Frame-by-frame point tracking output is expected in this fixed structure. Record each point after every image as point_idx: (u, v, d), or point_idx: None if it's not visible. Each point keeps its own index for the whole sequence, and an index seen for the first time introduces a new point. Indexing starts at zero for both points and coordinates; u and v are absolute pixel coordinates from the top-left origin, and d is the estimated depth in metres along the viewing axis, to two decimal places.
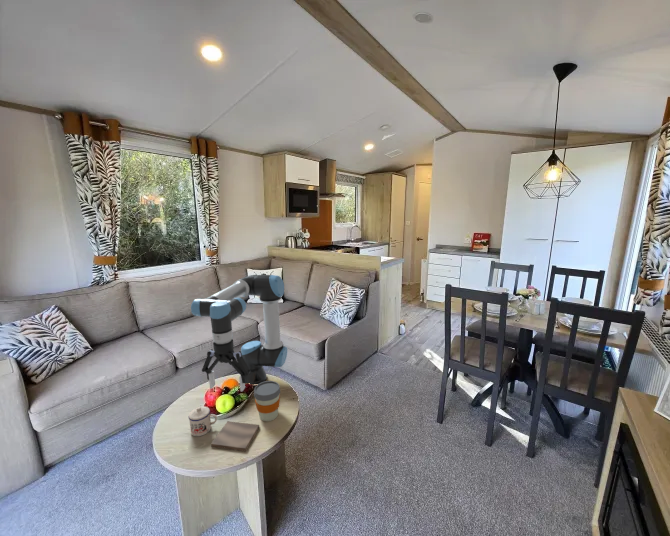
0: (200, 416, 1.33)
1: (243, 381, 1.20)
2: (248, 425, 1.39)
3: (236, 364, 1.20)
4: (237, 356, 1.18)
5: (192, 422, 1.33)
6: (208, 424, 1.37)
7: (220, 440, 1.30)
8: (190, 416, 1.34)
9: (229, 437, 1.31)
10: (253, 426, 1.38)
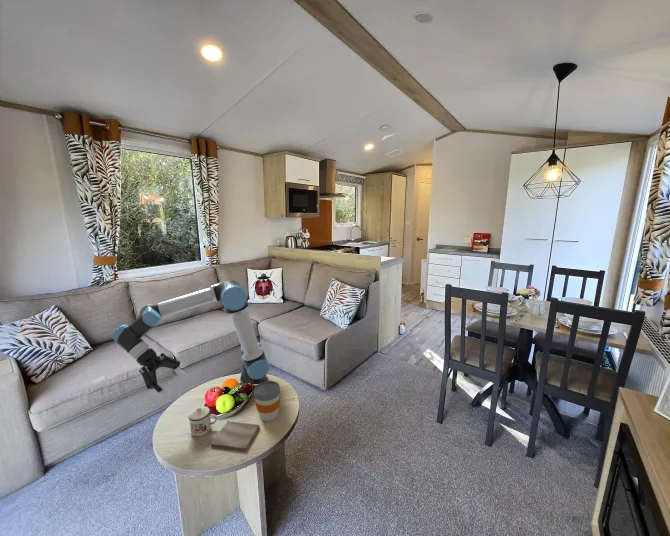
0: (200, 416, 1.33)
1: None
2: (248, 425, 1.39)
3: (151, 375, 1.30)
4: None
5: (192, 422, 1.33)
6: (208, 424, 1.37)
7: (220, 440, 1.30)
8: (190, 416, 1.34)
9: (229, 437, 1.31)
10: (253, 426, 1.38)
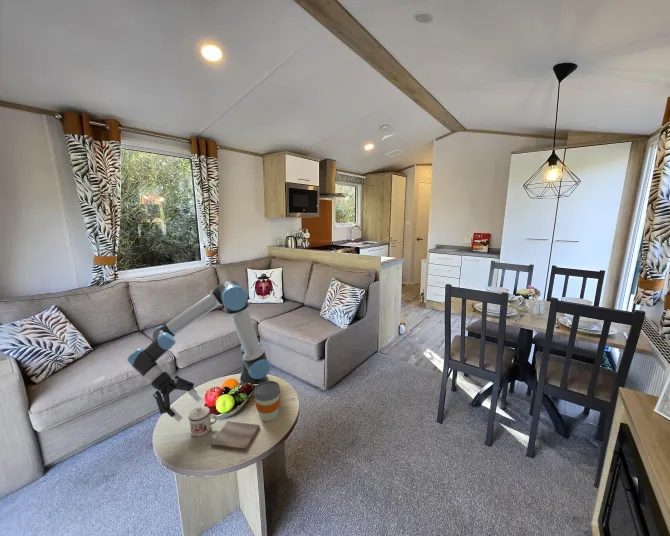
0: (200, 416, 1.33)
1: None
2: (248, 425, 1.39)
3: (164, 399, 1.32)
4: None
5: (192, 422, 1.33)
6: (208, 424, 1.37)
7: (220, 440, 1.30)
8: (190, 416, 1.34)
9: (229, 437, 1.31)
10: (253, 426, 1.38)
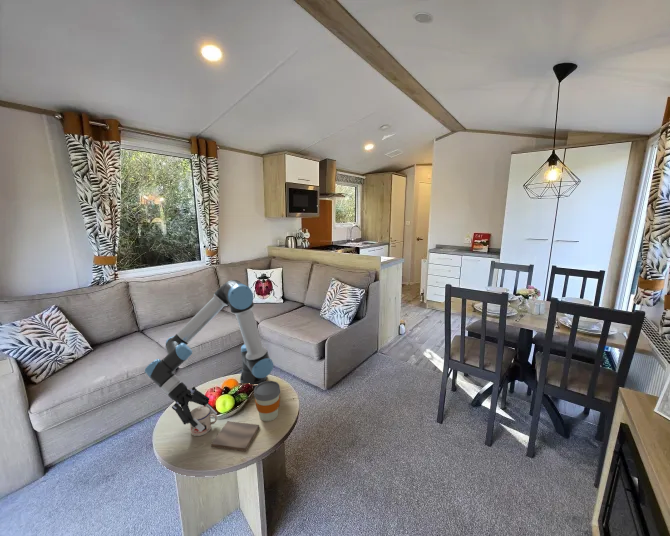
0: (201, 416, 1.34)
1: None
2: (248, 425, 1.39)
3: (184, 410, 1.33)
4: None
5: None
6: (208, 424, 1.37)
7: (220, 440, 1.30)
8: None
9: (229, 437, 1.31)
10: (253, 426, 1.38)
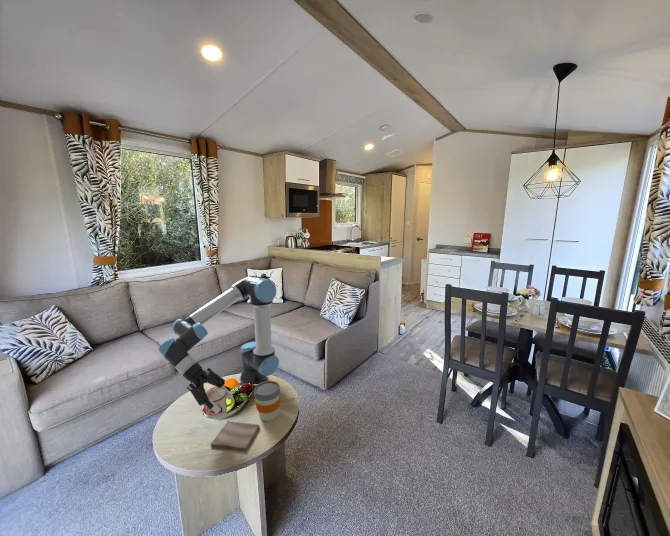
0: (216, 398, 1.27)
1: None
2: (248, 425, 1.39)
3: (200, 391, 1.27)
4: None
5: None
6: (224, 406, 1.31)
7: (220, 440, 1.30)
8: None
9: (229, 437, 1.31)
10: (253, 426, 1.38)
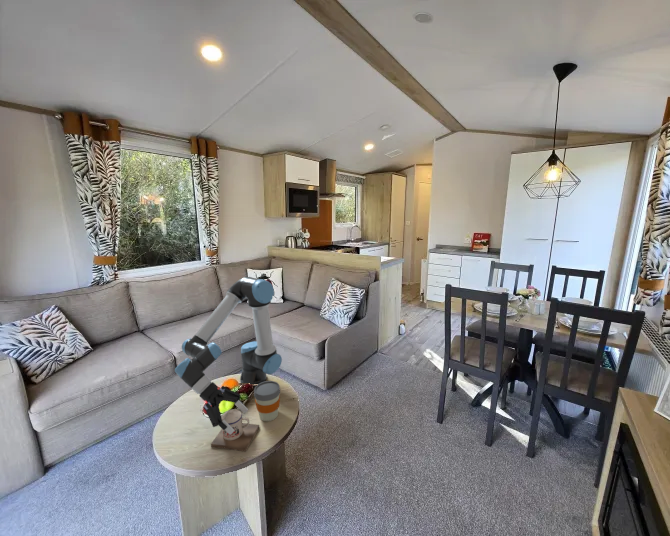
0: (233, 420, 1.29)
1: None
2: (248, 425, 1.39)
3: (215, 411, 1.27)
4: None
5: None
6: (240, 428, 1.32)
7: (220, 440, 1.30)
8: (223, 419, 1.29)
9: None
10: (253, 426, 1.38)
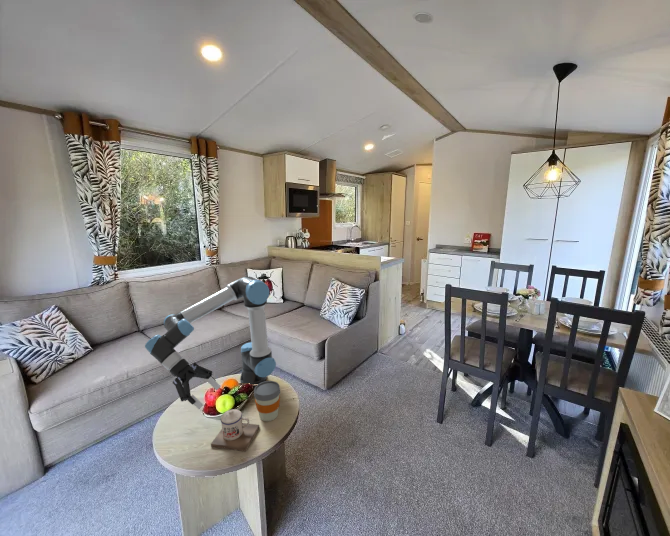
0: (233, 420, 1.29)
1: None
2: (248, 425, 1.39)
3: (184, 386, 1.27)
4: None
5: (225, 426, 1.28)
6: (240, 428, 1.32)
7: (220, 440, 1.30)
8: (222, 419, 1.29)
9: None
10: (253, 426, 1.38)
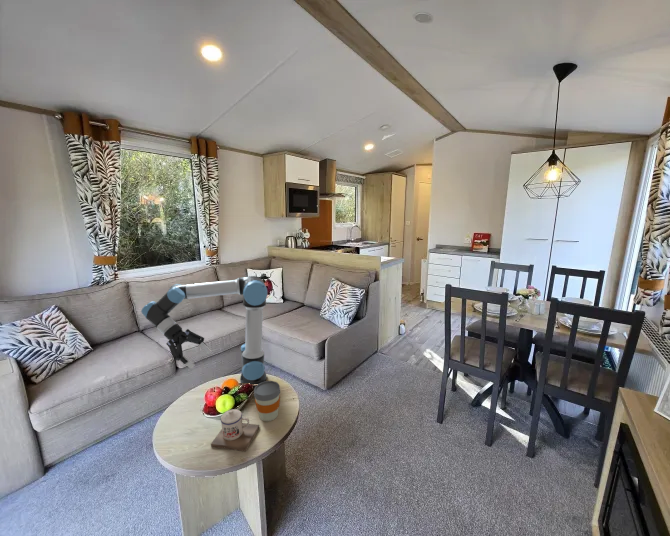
0: (233, 420, 1.29)
1: None
2: (248, 425, 1.39)
3: (177, 348, 1.38)
4: None
5: (225, 426, 1.28)
6: (240, 428, 1.32)
7: (220, 440, 1.30)
8: (223, 419, 1.29)
9: None
10: (253, 426, 1.38)
